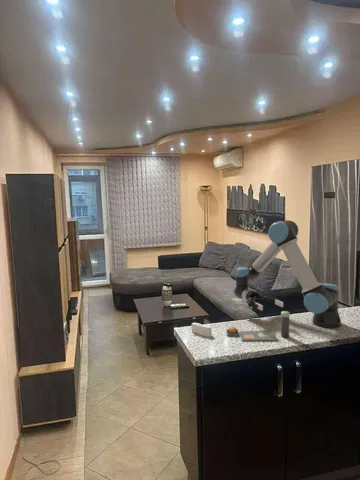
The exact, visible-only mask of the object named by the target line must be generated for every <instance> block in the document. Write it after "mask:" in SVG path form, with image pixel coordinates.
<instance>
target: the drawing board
mask: <svg viewBox="0 0 360 480" xmlns="http://www.w3.org/2000/svg"><path fill="white" fill-rule="evenodd" d="M239 336H240V338H241V341H242V342H278V341H279V339H278V337H277V335H276V334H275V332H274V330H241V331H239Z"/></svg>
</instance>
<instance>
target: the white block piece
mask: <svg viewBox="0 0 360 480" xmlns="http://www.w3.org/2000/svg"><path fill="white" fill-rule="evenodd" d="M191 333H194V334H198V335H200V336H205V337H209V338H210V337H212V326H210V325H204V324H201V323H198V322H192V323H191Z"/></svg>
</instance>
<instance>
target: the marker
mask: <svg viewBox="0 0 360 480" xmlns="http://www.w3.org/2000/svg"><path fill="white" fill-rule="evenodd" d="M290 316H291V315H290V311H287V310H286V311H285V310H282V311H281V312H280V318H281V319H280V323H281V325H280V330H281V331H280V336H281V338H282V339H283V338H284V339H288V338H290Z"/></svg>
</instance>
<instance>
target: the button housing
mask: <svg viewBox="0 0 360 480" xmlns="http://www.w3.org/2000/svg"><path fill="white" fill-rule="evenodd" d="M226 336H227V337H239V336H240V332H239V329H237V328H236V333H229V328H227V329H226Z"/></svg>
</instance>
